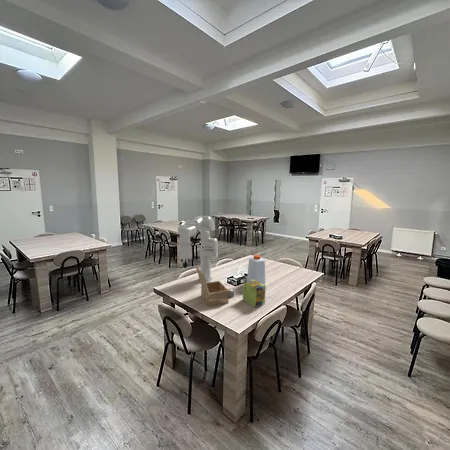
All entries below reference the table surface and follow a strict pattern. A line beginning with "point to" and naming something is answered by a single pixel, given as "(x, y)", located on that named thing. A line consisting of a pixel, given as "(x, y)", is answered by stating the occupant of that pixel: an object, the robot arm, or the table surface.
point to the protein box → (254, 292)
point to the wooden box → (215, 293)
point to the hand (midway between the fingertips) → (184, 267)
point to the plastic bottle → (256, 269)
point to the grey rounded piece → (231, 293)
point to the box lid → (202, 279)
